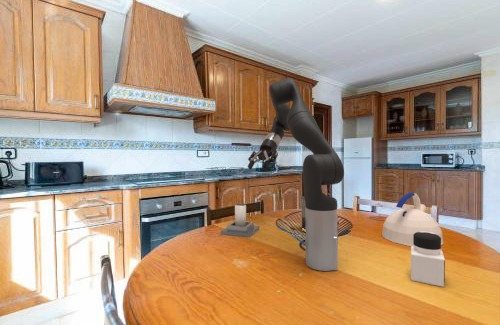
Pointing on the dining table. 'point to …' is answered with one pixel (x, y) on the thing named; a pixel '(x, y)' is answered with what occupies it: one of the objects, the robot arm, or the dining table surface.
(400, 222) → the kettle
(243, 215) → the pale grey canister
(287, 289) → the dining table surface
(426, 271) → the medicine bottle
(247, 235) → the hub plate
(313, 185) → the robot arm
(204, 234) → the dining table surface
